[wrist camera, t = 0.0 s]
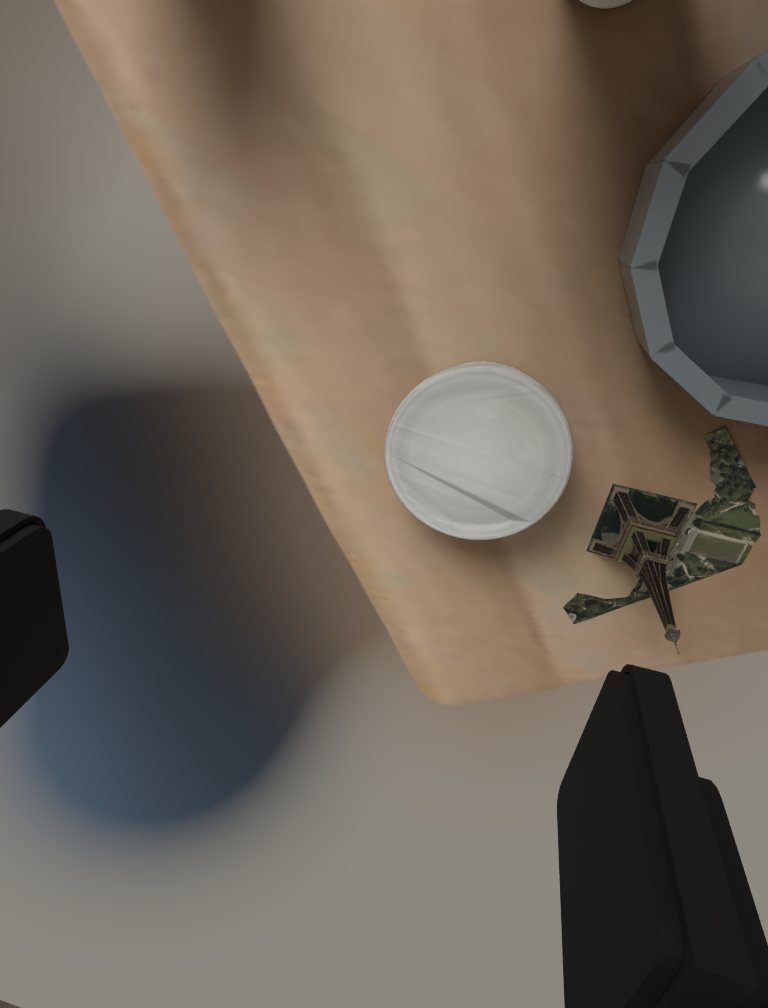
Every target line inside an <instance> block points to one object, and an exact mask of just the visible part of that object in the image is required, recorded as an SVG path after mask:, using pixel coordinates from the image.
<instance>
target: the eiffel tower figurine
mask: <svg viewBox="0 0 768 1008" xmlns="http://www.w3.org/2000/svg"><path fill="white" fill-rule="evenodd" d="M703 436H704V438H705V440H706V442H707V444H708V446H709V448H710V449H711V470H710V480H711V481H712V482H713V483H714V484H715V485H716V486H717V487H716V489H715V491H714V495H715V498H713V499H710V500H708V501H706V502H705V503H704V504H703V505H702V506H701V507H700V508H699V509H698V510H697V511H695V512H694V510H695V507H696V505H697V504H696V503H691V502H687V501H683V500H679V499H675V498H671V497H667V496H662V495H658V494H654V493H650V492H646V491H642V490H638V489H634V488H629V487H625V486H621V485H617V484H613V485H612V488H611V490H610V493H609V495H608V498H607V500H606V503H605V505H604V508H603V510H602V513H601V515H600V518H599V520H598V523H597V525H596V528H595V531H594V533H593V536H592V538H591V541H590V543H589V546H588V548H587V551H589V552H593V553H597V554H600V555H604V556H608V557H612V558H616V561H617V563H621V564H625V565H629V566H630V567H631V568H632V569H633V570H634V571H635V572H636V573H635V575H636V577H640V579H639V581H638V583H637V585H636V587H635V588H634V589H633V590H632V592H631V594H630V595H629V596H628V597H625V598H614V599H602V598H598V597H594V596H590V595H585V594H579V593H577V594H576V596H575V597H574V598H573V599H571V600H570V601H569V602H568V603H567V604H566V605H565V606H564V607H563V608H564V609H565V611H566V613H567V614H568V616H569V617H570V619H571V620H572V622H573V624H576V623H578V622H581V621H584V620H587V619H590V618H593V617H596V616H598V615H601V614H604V613H607V612H609V611H612V610H615V609H618V608H620V607H623V606H626V605H629V604H632V603H634V602H637V601H640V600H643V599H646V598H649V597H651V598H652V600H653V602H654V604H655V607H656V609H657V611H658V614H659V616H660V618H661V621H662V623H663V625H664V628H665V631H666V633H665V637H666V639H667V640H669V641H672V642H674V643H675V646H676V649H677V652H678V654H679V651H678V648H677V645H676V643H677V641H678V639H679V637H680V630H678V629H677V628H676V624H675V620H674V616H673V611H672V606H671V601H670V596H669V590H672V589H674V588H677V587H680V586H683V585H686V584H688V583H691V582H694V581H697V580H700V579H702V578H705V577H708V576H711V575H714V574H716V573H719V572H722V571H725V570H727V569H730V568H733V567H736V566H738V565H741V564H742V563H743V562H744V560H745V558H746V557H747V555H748V553H749V552H750V550H751V548H752V546H753V544H754V543H755V542H756V541H757V539H758V538H759V537H760V536H761V534H760V519H759V516H758V515H757V514H756V513H755V504H754V503H752V502H750V501H749V500H748V499H749V498H750V496H751V494H752V493H753V491H754V490H753V488H756V486H755V484H754V482H753V480H752V478H751V476H750V474H749V472H748V470H747V469H746V467H745V465H744V463H743V461H742V459H741V457H740V455H739V453H738V451H737V449H736V447H735V445H734V443H733V441H732V439H731V437H730V434H729V432H728V430H727V428H726V427H725V428H722V429H719V430H717V431H714V432H711V433H709V434H706V435H703ZM693 512H694V513H693Z"/></svg>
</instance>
